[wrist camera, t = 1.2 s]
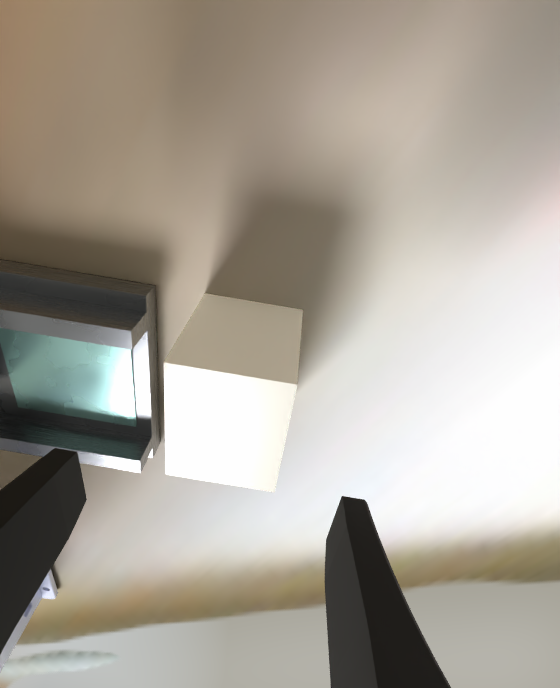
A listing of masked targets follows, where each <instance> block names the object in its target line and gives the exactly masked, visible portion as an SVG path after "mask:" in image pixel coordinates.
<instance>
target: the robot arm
mask: <svg viewBox="0 0 560 688" xmlns="http://www.w3.org/2000/svg"><path fill="white" fill-rule="evenodd" d="M86 500H87V499H86V494H85V489H84V484H83V478H82V473H81V468H80V463H79V457H78V452H77V451H71V450H65V449H59V448H54V449H53V450H51V451H50V452H49V453H47V454H46V455H45V456H43V457H42V458H41V459H40V460H38V461H37V462H36V463H34V464H33V465H32V466H31V467H29V468H28V469H27V470H26V471H24V472H23V473H22V474H21V475H19V476H18V477H17V478H15V479H14V480H13V481H12V482H10V483H9V484H8V485H6V486H5V487H4V488H3V489H1V490H0V672H1V670H2V668H3V667H4V665H5V663H6V661H7V659H8V658H9V656H10V654H11V652H12V650H13V649H14V647H15V645H16V643H17V642H18V640H19V638H20V636H21V634H22V633H23V631H24V629H25V627H26V625H27V624H28V622H29V620H30V618H31V616H32V615H33V613H34V611H35V609H36V608H37V606H38V604H39V602H40V600H41V599H42V598H47V599H54V598H56V596H57V594H58V591H57V587H56V584H55V581H54V578H53V575H52V571H51V567H52V566H53V564H54V562H55V561H56V559H57V557H58V556H59V554H60V552H61V551H62V549H63V547H64V545H65V544H66V542H67V540H68V539H69V537H70V535H71V533H72V530H73V528H74V526H75V524H76V522H77V520H78V518H79V515H80V513H81V511H82V509H83V506H84V504H85V502H86ZM325 596H326V613H327V630H328V646H329V663H330V678H331V688H451V687H450V685H449V683H448V681H447V680H446V678H445V676H444V674H443V672H442V671H441V669H440V667H439V665H438V663H437V662H436V660H435V658H434V656H433V654H432V652H431V650H430V648H429V646H428V644H427V643H426V641H425V639H424V637H423V635H422V633H421V631H420V629H419V627H418V625H417V623H416V621H415V618H414V617H413V614H412V612H411V610H410V608H409V606H408V604H407V602H406V599H405V597H404V595H403V593H402V591H401V588H400V586H399V584H398V582H397V579H396V577H395V575H394V573H393V570H392V568H391V566H390V563H389V561H388V558H387V556H386V553H385V551H384V548H383V546H382V543H381V541H380V538H379V536H378V533H377V530H376V528H375V525H374V522H373V519H372V516H371V513H370V510H369V507H368V504H367V502H366V501H365V500H362V499H356V498H350V497H344V496H342V497H341V500H340V503H339V506H338V508H337V511H336V514H335V517H334V520H333V522H332V525H331V528H330V531H329V534H328V536H327V539H326V557H325Z"/></svg>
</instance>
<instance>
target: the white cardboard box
mask: <svg viewBox="0 0 560 688" xmlns="http://www.w3.org/2000/svg"><path fill="white" fill-rule="evenodd" d="M302 318H303V310H302V309H296V308H290V307H284V306H278V305H272V304H266V303H260V302H254V301H248V300H242V299H236V298H230V297H224V296H219V295H213V294H207V293H205V294H204V296H203V297H202V299H201V301H200V302H199V304H198V306H197V307H196V309H195V311H194V312H193V314H192V316H191V317H190V319H189V321H188V322H187V324H186V326H185V327H184V329H183V331H182V332H181V334H180V336H179V338H178V339H177V341H176V343H175V344H174V346H173V348H172V349H171V351H170V353H169V354H168V356H167V358H166V359H165V361H164V411H165V467H166V475H172V476H178V477H184V478H190V479H196V480H202V481H208V482H214V483H220V484H226V485H232V486H238V487H244V488H250V489H256V490H262V491H268V492H274V493H275V488H276V483H277V479H278V474H279V469H280V464H281V460H282V455H283V450H284V446H285V441H286V436H287V431H288V427H289V422H290V417H291V413H292V408H293V403H294V398H295V394H296V389H297V384H298V371H299V357H300V344H301V331H302Z"/></svg>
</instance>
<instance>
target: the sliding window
mask: <svg viewBox="0 0 560 688" xmlns="http://www.w3.org/2000/svg"><path fill="white" fill-rule="evenodd" d="M159 444H160V435H159V399H158V363H157V327H156V290H155V285H150V284H144V283H138V282H132V281H126V280H120V279H114V278H108V277H102V276H96V275H90V274H84V273H78V272H72V271H66V270H60V269H54V268H48V267H43V266H37V265H31V264H25V263H19V262H13V261H7V260H1V259H0V450H6V451H12V452H18V453H24V454H30V455H36V456H42V457H43V456H45V455H46V454H47V453H49V452H50V451H51V450H53V449H54V448H59V449H65V450H71V451H77V452H78V457H79V463H84V464H90V465H96V466H102V467H108V468H114V469H120V470H126V471H132V472H138V473H141V471H142V469H143V467H144V465H145V463H146V461H147V459H148V457H149V458H153V457H154V455H155V453H156V450H157V448H158V446H159Z"/></svg>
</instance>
